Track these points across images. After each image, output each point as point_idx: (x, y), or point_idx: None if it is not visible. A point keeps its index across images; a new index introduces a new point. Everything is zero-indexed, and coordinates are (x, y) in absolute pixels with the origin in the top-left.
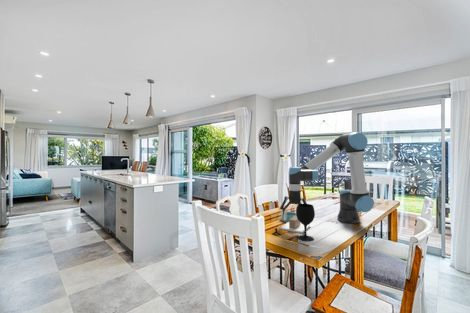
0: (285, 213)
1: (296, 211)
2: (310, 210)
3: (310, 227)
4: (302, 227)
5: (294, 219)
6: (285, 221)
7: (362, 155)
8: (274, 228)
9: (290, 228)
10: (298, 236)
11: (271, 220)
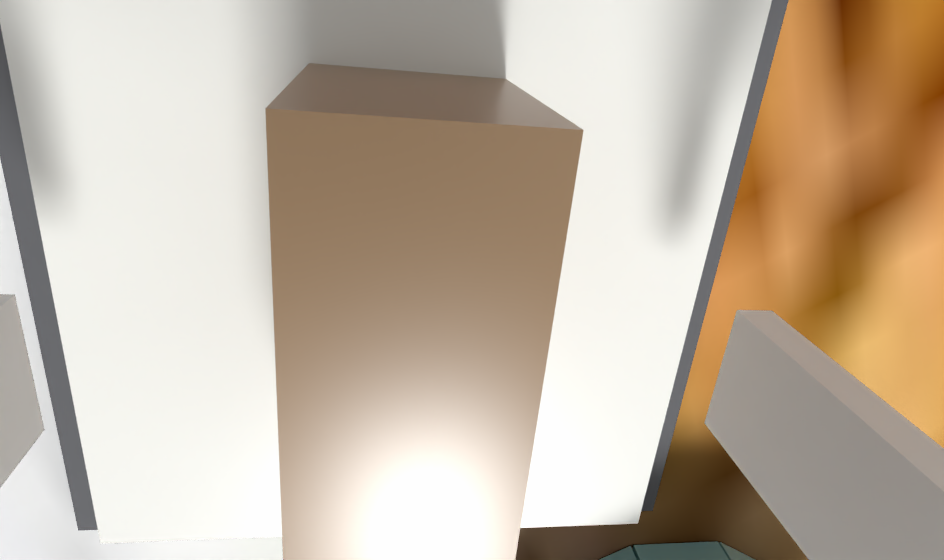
0: (896, 519)
1: None
2: None
3: (75, 492)
4: (180, 313)
5: (368, 278)
6: (702, 556)
7: None
8: (892, 16)
9: (460, 43)
10: None
11: None
